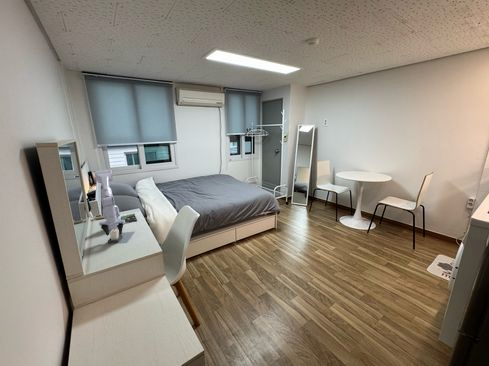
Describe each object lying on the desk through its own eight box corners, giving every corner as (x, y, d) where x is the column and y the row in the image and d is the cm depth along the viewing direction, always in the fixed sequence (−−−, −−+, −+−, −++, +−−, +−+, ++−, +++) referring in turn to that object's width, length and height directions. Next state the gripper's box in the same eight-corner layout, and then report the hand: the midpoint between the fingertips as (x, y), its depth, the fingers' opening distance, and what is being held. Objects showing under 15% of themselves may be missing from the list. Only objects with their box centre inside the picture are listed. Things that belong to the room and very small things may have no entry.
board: (117, 234, 147) (116, 232, 146) (135, 232, 148) (134, 230, 148) (106, 246, 132) (106, 243, 132) (127, 244, 134) (126, 242, 134)
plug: (114, 239, 139) (112, 229, 137) (119, 238, 139) (117, 228, 137) (111, 242, 135) (109, 232, 133) (116, 241, 135) (114, 231, 133)
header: (113, 238, 140) (112, 235, 139) (122, 237, 141) (122, 234, 140) (108, 243, 133) (107, 240, 133) (118, 242, 134) (117, 240, 133)
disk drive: (137, 222, 165) (134, 216, 177) (137, 219, 165) (134, 213, 176) (122, 226, 160) (120, 219, 171) (122, 223, 159) (120, 216, 171)
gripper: (94, 218, 127) (99, 238, 131) (120, 216, 129) (124, 236, 133) (100, 213, 134) (104, 232, 138) (124, 212, 136) (128, 231, 140)
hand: (114, 234), depth 136 cm, fingers open, 7 cm apart
